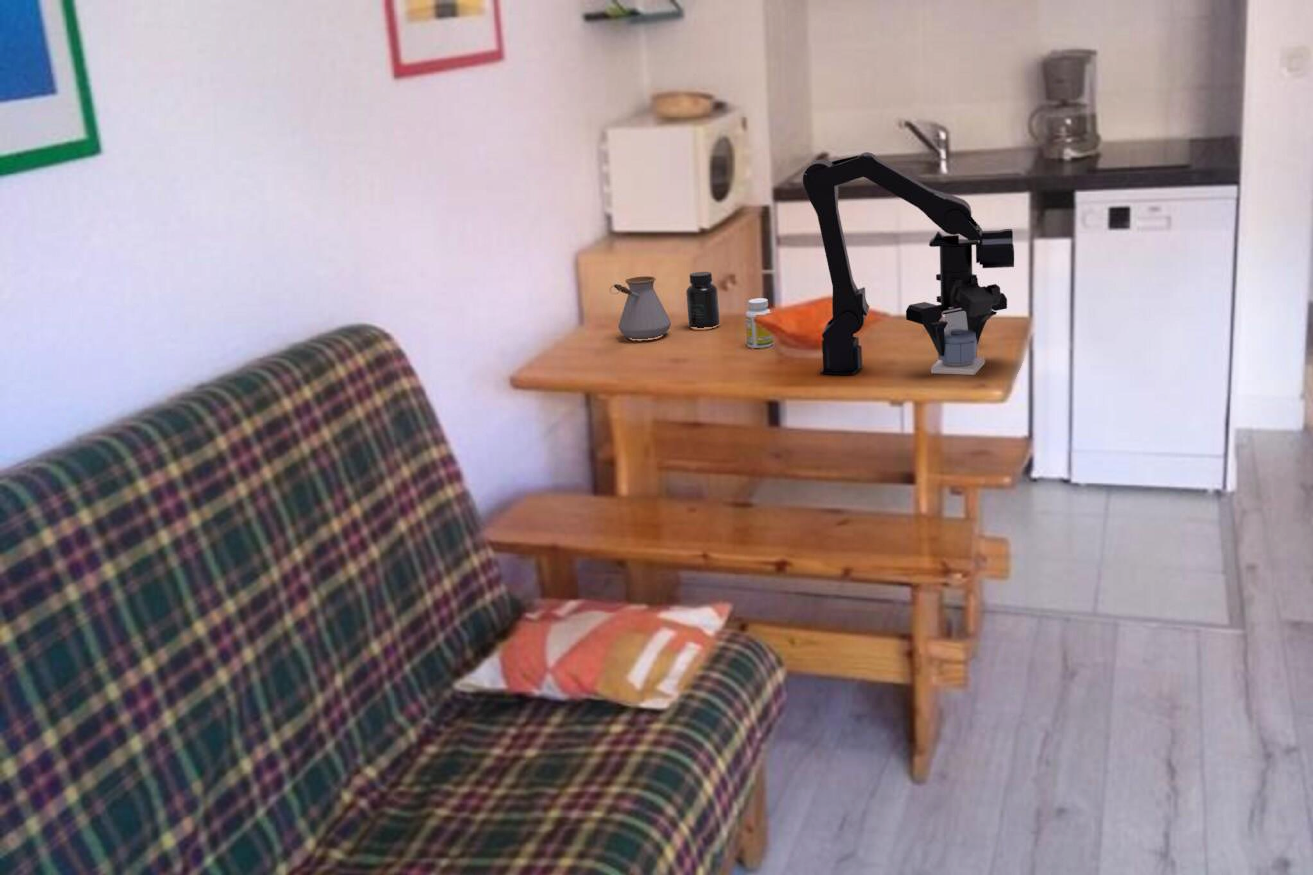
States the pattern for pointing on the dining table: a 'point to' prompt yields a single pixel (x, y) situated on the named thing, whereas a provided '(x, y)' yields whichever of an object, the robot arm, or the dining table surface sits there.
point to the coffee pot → (642, 310)
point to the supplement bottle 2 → (754, 332)
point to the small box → (956, 320)
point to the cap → (959, 346)
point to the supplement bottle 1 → (702, 301)
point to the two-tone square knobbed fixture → (958, 367)
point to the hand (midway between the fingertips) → (957, 352)
